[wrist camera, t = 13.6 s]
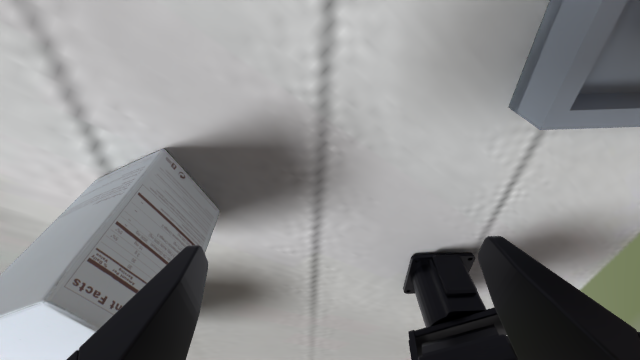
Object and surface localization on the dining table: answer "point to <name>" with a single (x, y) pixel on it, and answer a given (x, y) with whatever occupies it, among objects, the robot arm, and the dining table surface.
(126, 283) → the supplement box
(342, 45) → the dining table surface
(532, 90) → the tray
